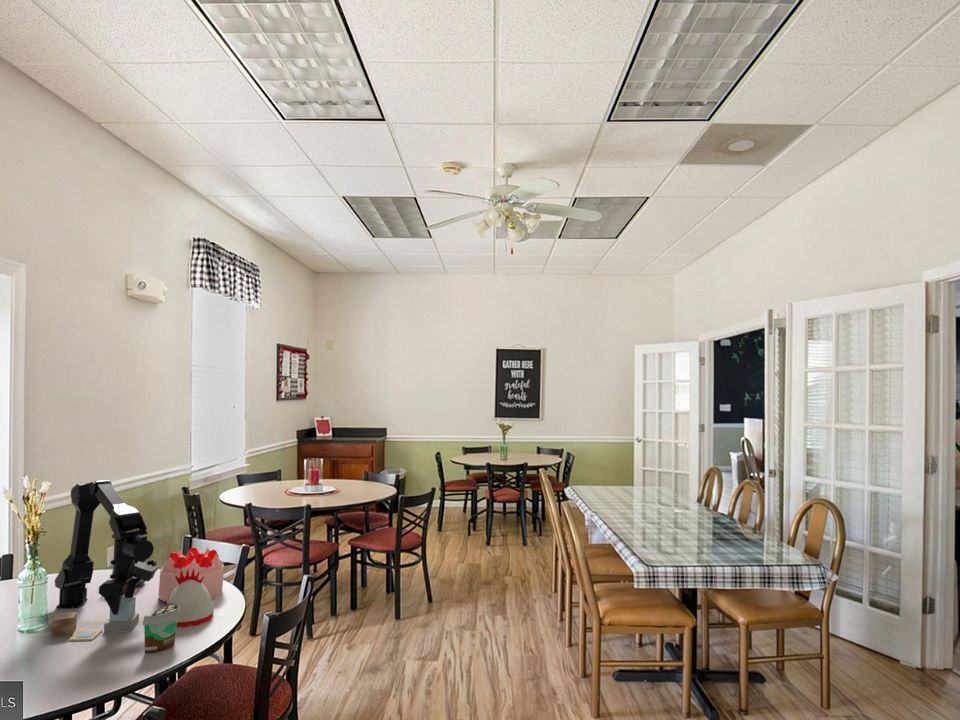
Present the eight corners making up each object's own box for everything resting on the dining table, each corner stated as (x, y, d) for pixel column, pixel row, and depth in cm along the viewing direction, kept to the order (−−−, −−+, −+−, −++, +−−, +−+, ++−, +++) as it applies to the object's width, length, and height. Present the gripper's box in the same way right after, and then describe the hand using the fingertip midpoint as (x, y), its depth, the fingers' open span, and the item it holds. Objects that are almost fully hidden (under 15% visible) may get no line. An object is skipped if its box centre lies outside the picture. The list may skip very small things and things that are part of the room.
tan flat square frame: (68, 641, 169) (68, 638, 169) (79, 632, 175) (79, 630, 175) (92, 640, 170) (92, 637, 170) (102, 631, 176) (102, 629, 176)
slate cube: (109, 621, 177) (110, 604, 177) (116, 615, 182) (117, 598, 182) (128, 620, 178) (128, 603, 178) (134, 614, 183) (135, 597, 183)
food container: (164, 656, 161) (166, 617, 162) (141, 655, 161) (143, 617, 162) (187, 637, 173) (189, 601, 174) (166, 636, 174) (167, 600, 174)
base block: (103, 634, 175) (104, 623, 175) (112, 624, 182) (113, 614, 182) (130, 632, 177) (131, 622, 177) (138, 623, 184) (139, 613, 184)
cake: (144, 600, 200) (148, 556, 201) (185, 581, 220) (188, 541, 220) (197, 607, 196) (201, 562, 197) (234, 588, 216) (237, 547, 216)
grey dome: (166, 613, 191) (168, 564, 192) (214, 608, 196) (216, 561, 197) (159, 630, 178) (162, 577, 179) (211, 624, 183) (213, 573, 184)
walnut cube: (51, 638, 171) (52, 620, 171) (55, 631, 176) (56, 613, 176) (72, 635, 173) (73, 617, 173) (76, 629, 178) (77, 611, 178)
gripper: (141, 563, 172) (139, 619, 172) (165, 546, 191) (163, 597, 190) (99, 564, 171) (96, 621, 170) (126, 546, 189) (124, 598, 189)
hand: (122, 608), depth 180 cm, fingers open, 9 cm apart
